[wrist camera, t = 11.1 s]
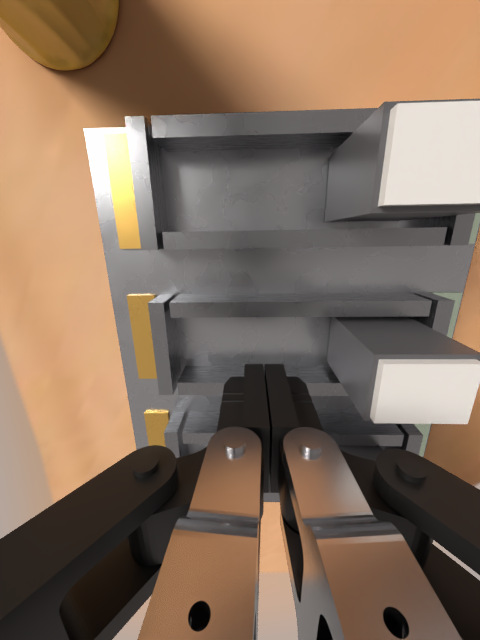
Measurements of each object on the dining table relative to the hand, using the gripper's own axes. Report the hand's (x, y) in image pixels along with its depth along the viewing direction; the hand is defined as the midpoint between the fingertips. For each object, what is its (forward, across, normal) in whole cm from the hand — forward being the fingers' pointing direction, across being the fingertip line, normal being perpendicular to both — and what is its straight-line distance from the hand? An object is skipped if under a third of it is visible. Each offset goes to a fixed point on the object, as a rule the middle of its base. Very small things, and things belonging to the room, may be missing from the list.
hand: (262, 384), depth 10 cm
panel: (+7, -1, 0) cm, 7 cm away
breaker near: (+6, -5, -8) cm, 11 cm away
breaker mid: (+6, -6, 0) cm, 8 cm away
